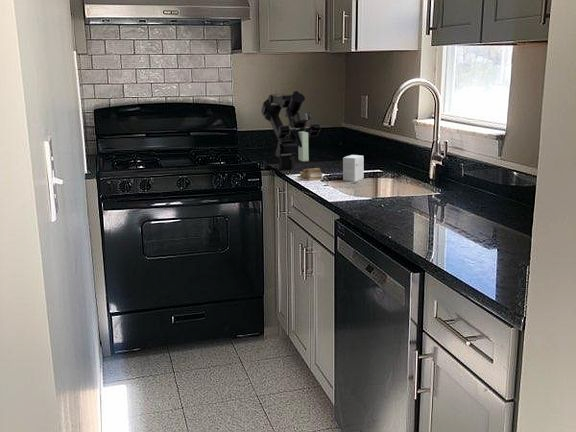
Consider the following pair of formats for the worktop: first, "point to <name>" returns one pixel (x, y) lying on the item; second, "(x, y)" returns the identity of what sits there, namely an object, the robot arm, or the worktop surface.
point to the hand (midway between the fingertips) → (304, 146)
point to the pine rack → (311, 174)
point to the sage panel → (303, 146)
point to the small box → (353, 168)
